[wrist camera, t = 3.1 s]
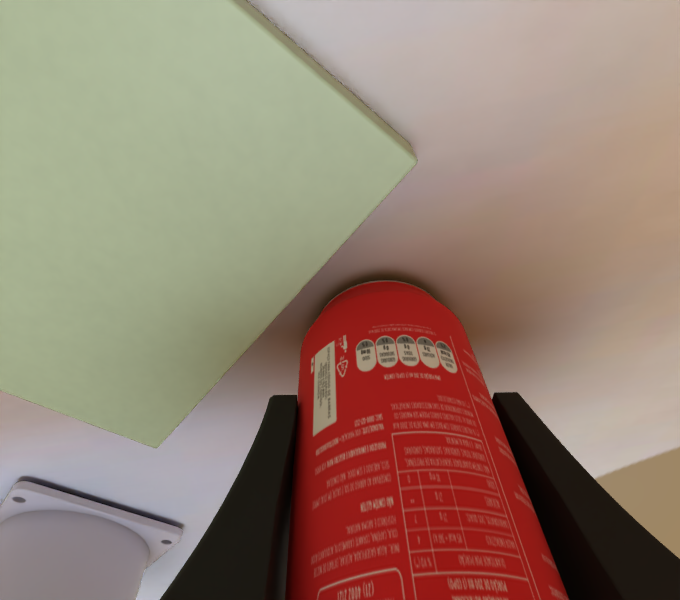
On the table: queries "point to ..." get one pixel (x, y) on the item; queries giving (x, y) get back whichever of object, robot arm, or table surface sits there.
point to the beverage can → (405, 463)
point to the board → (164, 198)
